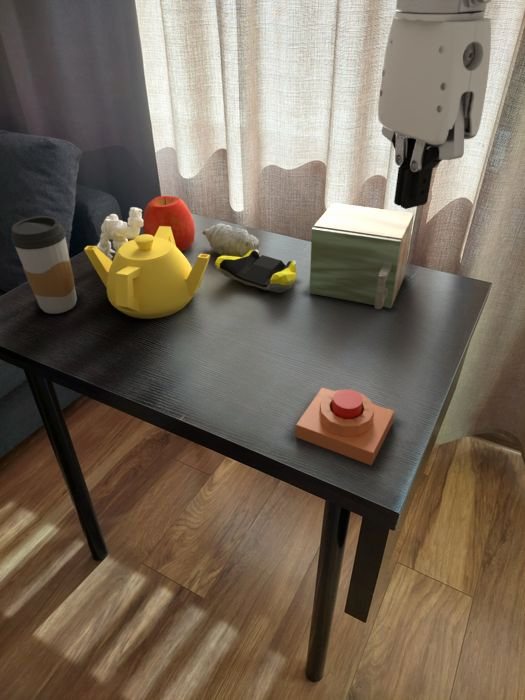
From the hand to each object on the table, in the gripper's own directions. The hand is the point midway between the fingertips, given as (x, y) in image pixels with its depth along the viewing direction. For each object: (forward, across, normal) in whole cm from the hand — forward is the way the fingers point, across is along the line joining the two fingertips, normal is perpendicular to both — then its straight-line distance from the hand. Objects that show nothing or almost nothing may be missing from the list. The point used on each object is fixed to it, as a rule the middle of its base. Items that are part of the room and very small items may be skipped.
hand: (410, 203), depth 56 cm
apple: (+27, +59, +10) cm, 66 cm away
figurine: (+27, +55, +21) cm, 65 cm away
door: (+27, +21, -8) cm, 35 cm away
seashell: (+27, +49, +1) cm, 56 cm away
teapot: (+27, +40, +20) cm, 52 cm away
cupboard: (+27, +26, -15) cm, 41 cm away
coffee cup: (+27, +46, +35) cm, 64 cm away
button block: (+27, -3, +8) cm, 28 cm away
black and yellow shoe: (+27, +35, +1) cm, 44 cm away
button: (+23, -3, +8) cm, 25 cm away
